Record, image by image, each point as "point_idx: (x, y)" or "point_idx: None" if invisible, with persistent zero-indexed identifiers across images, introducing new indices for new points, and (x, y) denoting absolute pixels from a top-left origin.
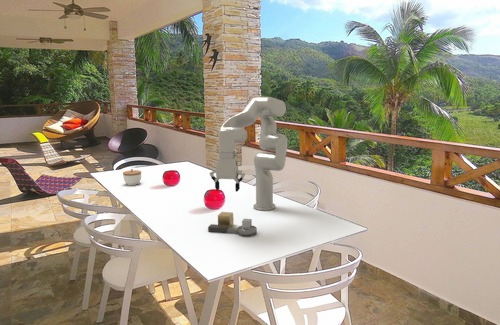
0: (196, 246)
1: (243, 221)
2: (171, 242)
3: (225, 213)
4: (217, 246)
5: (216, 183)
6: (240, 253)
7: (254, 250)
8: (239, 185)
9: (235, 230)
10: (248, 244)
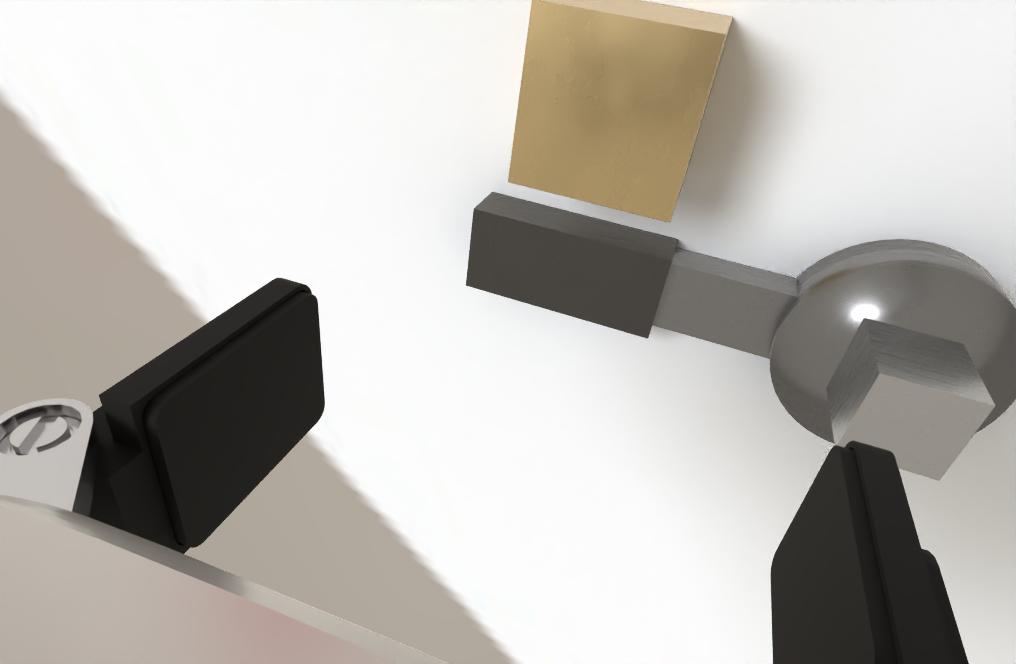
0: (474, 504)
1: None
2: None
3: (600, 87)
4: (607, 531)
5: (184, 539)
6: (769, 646)
7: None
8: (958, 648)
9: (748, 349)
10: None
